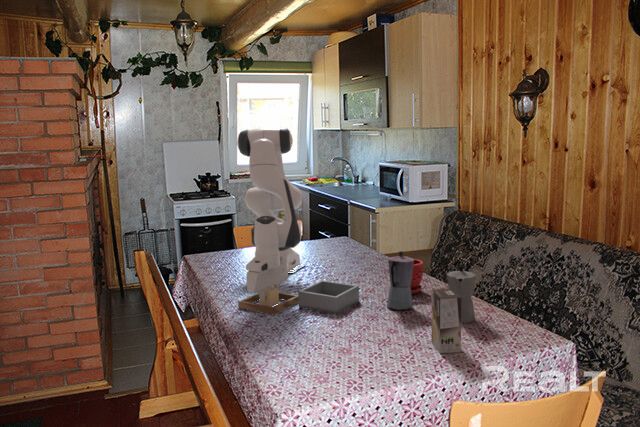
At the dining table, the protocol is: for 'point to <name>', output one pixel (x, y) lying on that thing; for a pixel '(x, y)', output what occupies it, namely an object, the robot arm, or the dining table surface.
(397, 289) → the moka pot
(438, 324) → the coffee box
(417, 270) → the plant pot
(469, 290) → the coffeepot
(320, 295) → the bin
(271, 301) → the tan block
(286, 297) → the frame
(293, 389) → the dining table surface
